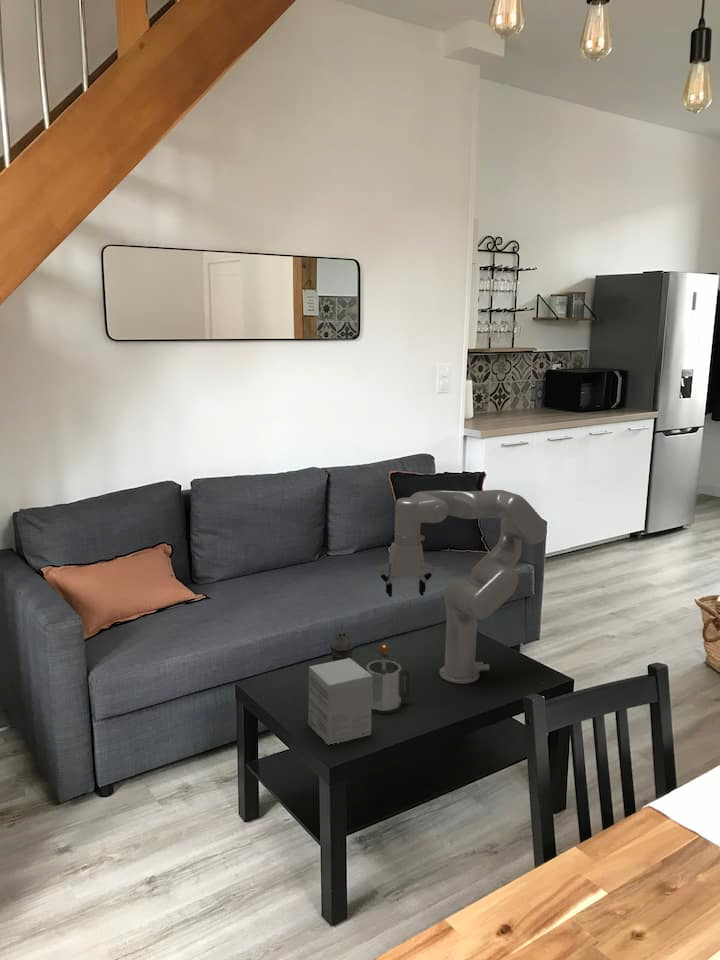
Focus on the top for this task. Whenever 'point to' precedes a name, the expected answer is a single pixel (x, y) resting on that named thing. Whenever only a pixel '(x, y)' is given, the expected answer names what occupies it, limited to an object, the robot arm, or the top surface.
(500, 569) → the robot arm
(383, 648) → the plunger
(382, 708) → the carafe
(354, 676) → the supplement box
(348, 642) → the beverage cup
